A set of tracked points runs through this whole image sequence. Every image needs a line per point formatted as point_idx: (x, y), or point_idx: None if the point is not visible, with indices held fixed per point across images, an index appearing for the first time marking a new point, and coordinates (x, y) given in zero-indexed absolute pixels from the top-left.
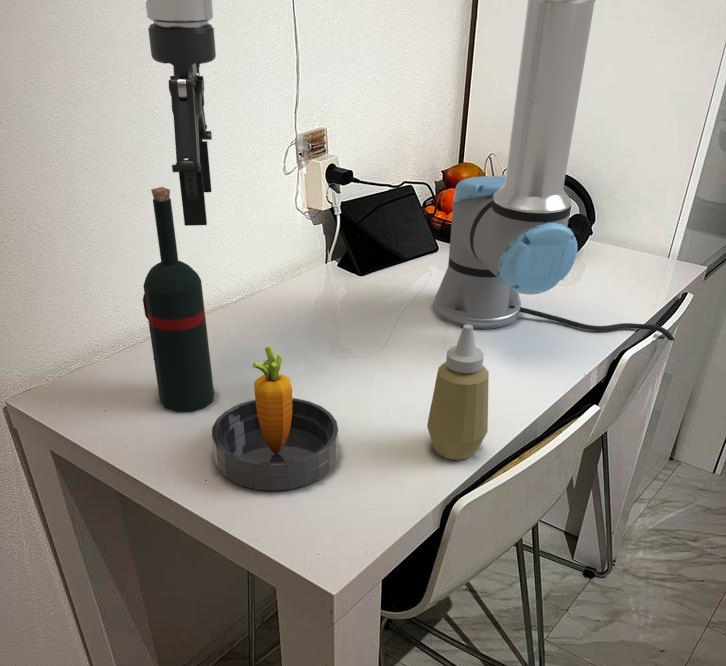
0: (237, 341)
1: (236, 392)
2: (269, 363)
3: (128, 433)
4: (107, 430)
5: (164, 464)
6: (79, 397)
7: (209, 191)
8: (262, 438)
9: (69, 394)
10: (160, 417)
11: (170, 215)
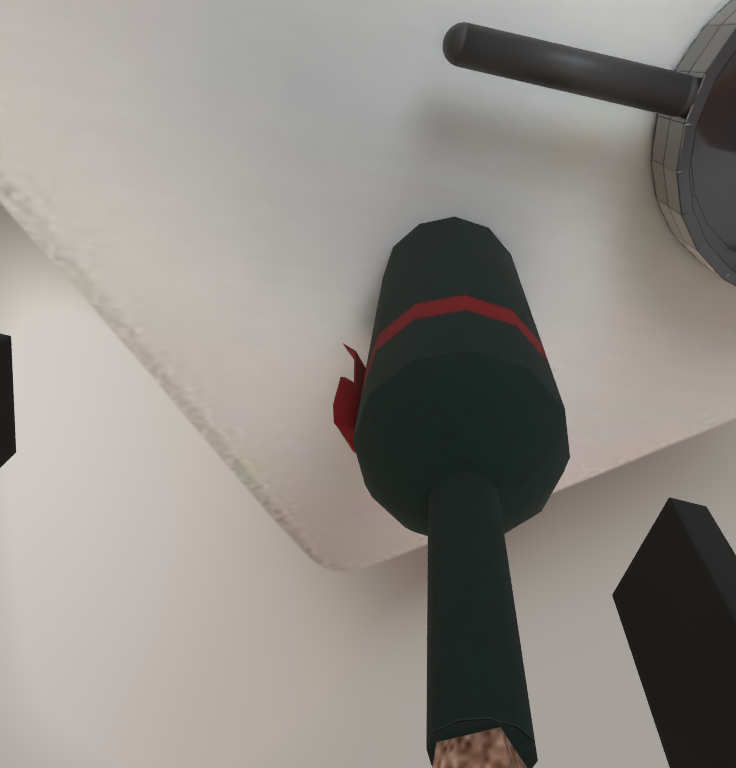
0: (158, 79)
1: (461, 155)
2: (487, 50)
3: None
4: None
5: (698, 375)
6: None
7: (10, 350)
8: (730, 147)
9: (346, 494)
10: None
11: (513, 655)
